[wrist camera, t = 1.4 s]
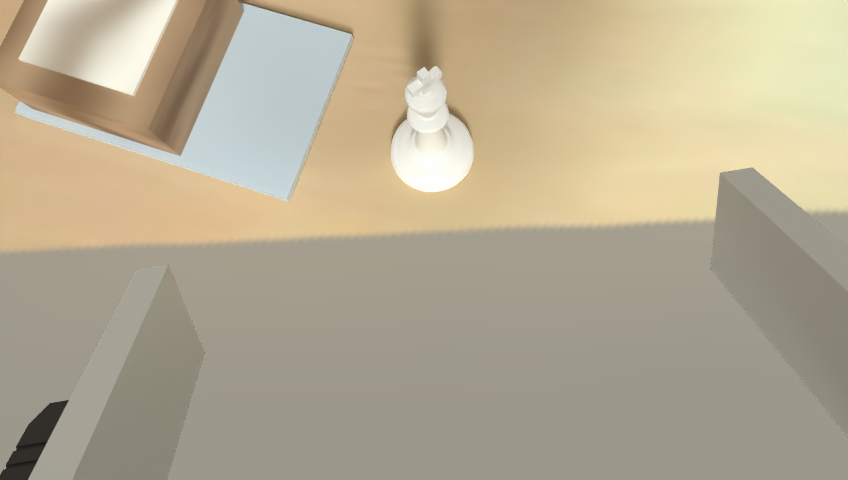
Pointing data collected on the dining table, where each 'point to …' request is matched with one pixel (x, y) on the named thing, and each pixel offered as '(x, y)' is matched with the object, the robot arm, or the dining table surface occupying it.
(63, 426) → the robot arm
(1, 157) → the dining table surface
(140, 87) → the walnut plinth
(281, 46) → the pale blue board
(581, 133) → the dining table surface
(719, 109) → the dining table surface
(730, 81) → the dining table surface
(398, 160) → the chess piece
